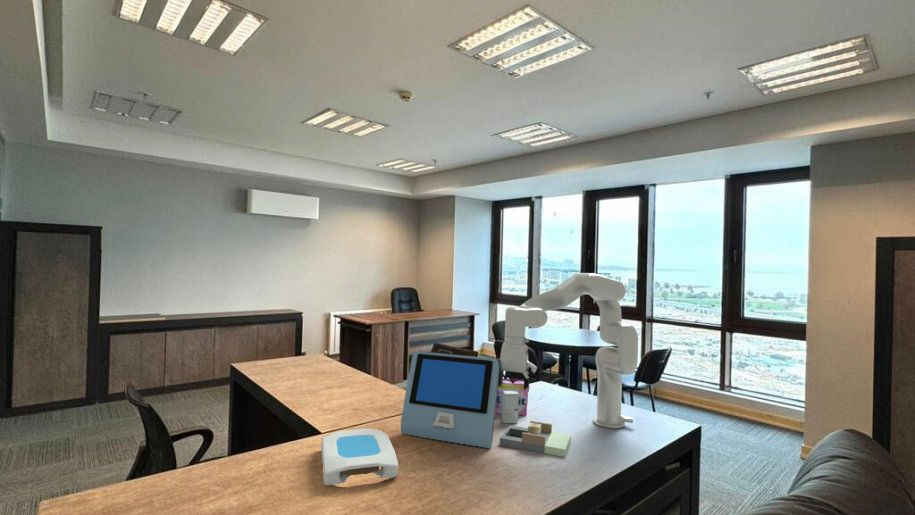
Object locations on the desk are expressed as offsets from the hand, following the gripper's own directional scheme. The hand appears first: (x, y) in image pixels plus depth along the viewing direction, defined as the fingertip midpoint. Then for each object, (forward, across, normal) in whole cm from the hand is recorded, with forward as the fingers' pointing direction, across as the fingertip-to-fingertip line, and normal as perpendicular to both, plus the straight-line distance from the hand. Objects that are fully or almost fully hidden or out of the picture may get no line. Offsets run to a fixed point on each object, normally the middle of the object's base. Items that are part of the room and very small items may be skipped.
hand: (512, 386), depth 162 cm
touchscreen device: (+20, +22, +5) cm, 30 cm away
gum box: (+19, +13, -29) cm, 37 cm away
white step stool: (+21, +39, +41) cm, 60 cm away
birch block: (+17, -9, 0) cm, 19 cm away
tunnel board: (+19, -9, 0) cm, 21 cm away
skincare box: (+19, +6, -18) cm, 27 cm away
